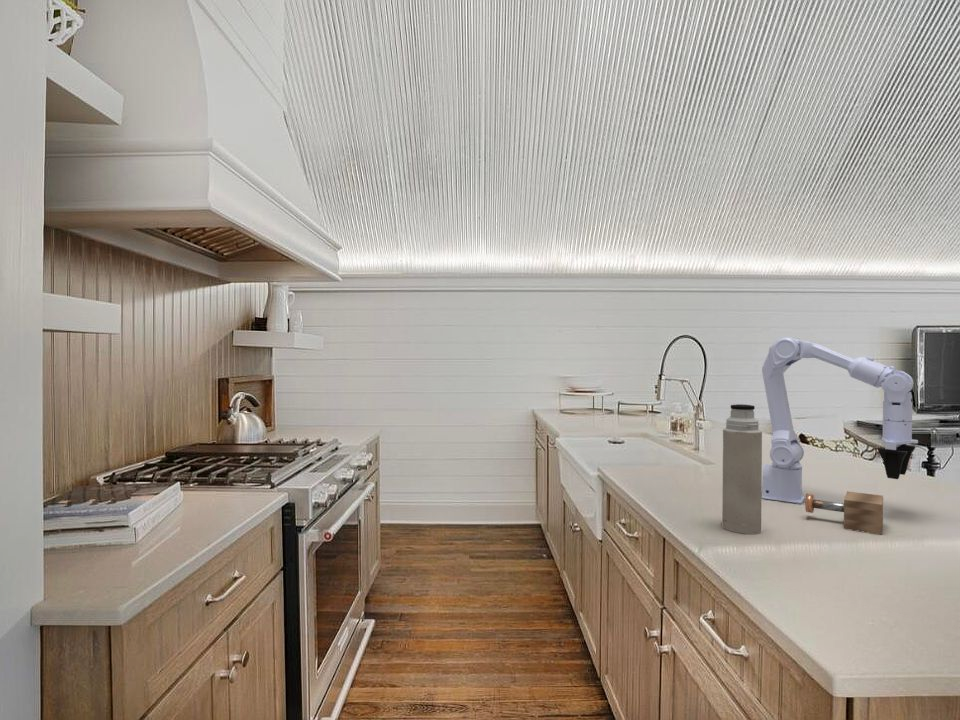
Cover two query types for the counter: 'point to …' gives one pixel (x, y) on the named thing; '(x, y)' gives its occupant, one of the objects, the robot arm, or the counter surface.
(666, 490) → the counter surface
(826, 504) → the copper capped shaft
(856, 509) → the bearing block
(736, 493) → the thermos bottle
